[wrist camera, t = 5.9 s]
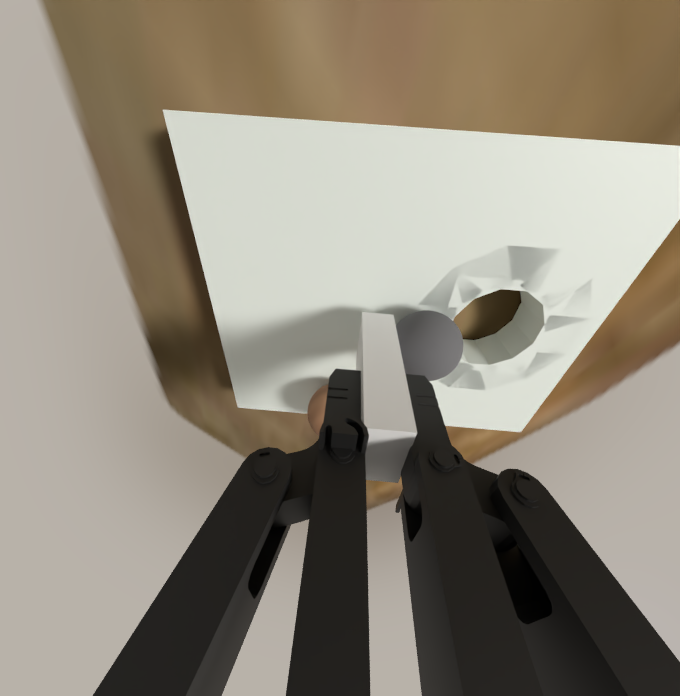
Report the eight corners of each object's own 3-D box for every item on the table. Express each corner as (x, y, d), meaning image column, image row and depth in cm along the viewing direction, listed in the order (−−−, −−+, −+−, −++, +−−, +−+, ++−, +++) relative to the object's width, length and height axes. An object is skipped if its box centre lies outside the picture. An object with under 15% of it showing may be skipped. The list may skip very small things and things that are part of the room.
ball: (492, 329, 11) (440, 295, 14) (427, 340, 10) (383, 301, 13) (464, 387, 13) (422, 349, 16) (406, 403, 12) (371, 358, 15)
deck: (196, 115, 12) (162, 109, 10) (666, 148, 11) (731, 149, 9) (249, 382, 21) (238, 407, 19) (505, 404, 21) (520, 432, 19)
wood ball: (311, 369, 17) (301, 412, 14) (366, 374, 17) (367, 418, 14) (311, 406, 19) (303, 450, 16) (361, 410, 19) (361, 455, 16)
